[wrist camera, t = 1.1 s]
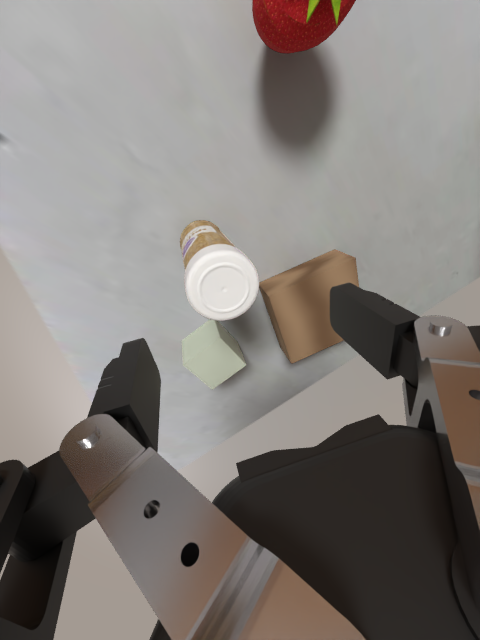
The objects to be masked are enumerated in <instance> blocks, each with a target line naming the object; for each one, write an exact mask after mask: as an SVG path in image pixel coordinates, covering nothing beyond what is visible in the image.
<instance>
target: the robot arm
mask: <svg viewBox="0 0 480 640" xmlns="http://www.w3.org/2000/svg"><path fill="white" fill-rule="evenodd" d="M330 323H331V326H332V328H333V330H334V331H335V332H336V333H337V334H338V335H339V336H340V337H341V338H342V339H343V340H345V341H346V342H347V343H348V344H349V345H350V346H351V347H352V348H353V349H354V350H355V351H357V352H358V353H359V354H360V355H361V356H362V357H363V358H364V359H366V361H368V362H369V363H370V364H371V365H372V366H373V367H374V368H375V369H376V370H377V371H379V372H380V373H381V374H382V375H383V376H384V377H385V378H386V379H390V378H393V377H396V376H400V375H401V376H402V377H403V384H402V386H403V395H404V405H405V414H406V423H407V426H403V425H388V424H387V423H386V422H385V421H384V420H383V419H382V418H381V416H380V415H375V416H372V417H369V418H367V419H364V420H361V421H358V422H355V423H352V424H349V425H346V426H344V427H343V428H341V429H340V430H339V431H337V432H336V433H334V434H333V435H332V436H330V437H329V438H327V439H326V440H324V441H323V442H322V443H320V444H319V445H317V446H315V447H311V448H298V449H286V450H274V451H270V452H267V453H264V454H262V455H259V456H256V457H253V458H250V459H247V460H244V461H241V462H239V463H236V464H237V469H238V473H239V476H238V477H237V478H235V479H234V480H232V481H231V482H230V483H229V484H228V485H227V486H225V487H224V488H223V489H222V491H221V492H220V493H219V494H218V495H217V496H216V497H215V499H214V500H213V502H212V503H211V502H210V501H209V500H208V499H207V498H206V497H205V496H204V495H203V494H201V492H199V491H198V490H197V489H196V488H195V487H194V486H193V485H192V484H191V483H190V482H188V481H187V480H186V479H185V478H184V477H183V476H182V475H181V474H180V473H178V471H176V470H175V469H174V468H173V467H172V466H171V465H170V464H169V463H168V462H167V461H166V460H164V459H163V458H162V457H161V456H160V455H159V454H158V453H157V450H158V429H159V408H160V387H161V379H160V374H159V370H158V368H157V365H156V363H155V361H154V358H153V356H152V354H151V352H150V349H149V347H148V345H147V343H146V341H145V339H144V338H141V339H137V340H134V341H130V342H126V343H124V344H123V346H122V349H121V352H120V356H119V358H115V359H112V361H111V362H110V363H109V364H108V365H107V366H106V368H105V369H104V371H103V374H102V377H101V381H100V383H99V385H98V389H97V391H96V394H95V397H94V400H93V402H92V405H91V408H90V411H89V414H88V417H87V418H86V419H85V420H83V421H81V422H80V423H78V424H77V425H76V426H74V427H73V428H72V429H71V430H70V431H69V432H68V433H67V434H66V436H65V437H64V439H63V440H62V443H61V445H60V448H59V451H57V452H56V453H54V454H52V455H50V456H48V457H47V458H45V459H43V460H41V461H40V462H38V463H36V464H34V465H32V466H30V467H29V468H27V467H26V466H25V465H23V464H22V463H21V462H20V461H18V460H8V461H5V462H2V463H0V572H1V570H2V567H3V565H4V562H5V560H6V557H7V555H8V554H10V557H9V559H8V562H7V564H6V567H5V570H4V572H3V575H2V577H1V580H0V640H53V638H54V633H55V628H56V624H57V620H58V615H59V610H60V605H61V601H62V597H63V592H64V587H65V583H66V578H67V573H68V569H69V565H70V560H71V555H72V551H73V546H74V542H75V537H76V532H77V531H78V530H79V529H81V528H82V527H84V526H85V525H87V524H88V523H89V522H91V521H92V520H94V519H95V518H96V519H97V521H98V523H99V524H100V526H101V527H102V529H103V531H104V532H105V534H106V535H107V537H108V538H109V540H110V542H111V543H112V545H113V546H114V548H115V550H116V551H117V553H118V555H119V556H120V558H121V559H122V561H123V563H124V564H125V566H126V567H127V569H128V571H129V572H130V574H131V575H132V577H133V579H134V580H135V582H136V583H137V585H138V587H139V588H140V590H141V591H142V593H143V595H144V596H145V598H146V599H147V601H148V603H149V604H150V606H151V607H152V609H153V611H154V612H155V614H156V615H157V617H158V621H157V624H156V626H155V628H154V630H153V633H152V635H151V637H150V640H480V326H470V327H469V326H468V327H467V326H466V325H465V324H463V323H462V322H460V321H458V320H456V319H453V318H449V317H445V316H436V315H435V316H432V315H431V316H424V317H419V316H417V315H416V314H414V313H412V312H410V311H408V310H406V309H404V308H403V307H401V306H399V305H397V304H394V303H393V302H392V301H390V300H388V299H387V300H386V298H384V297H382V296H380V295H379V294H377V293H374V292H370V291H366V290H363V289H361V288H359V287H357V286H356V285H354V284H352V283H345V284H341V285H337V286H334V287H332V288H331V289H330Z"/></svg>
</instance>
